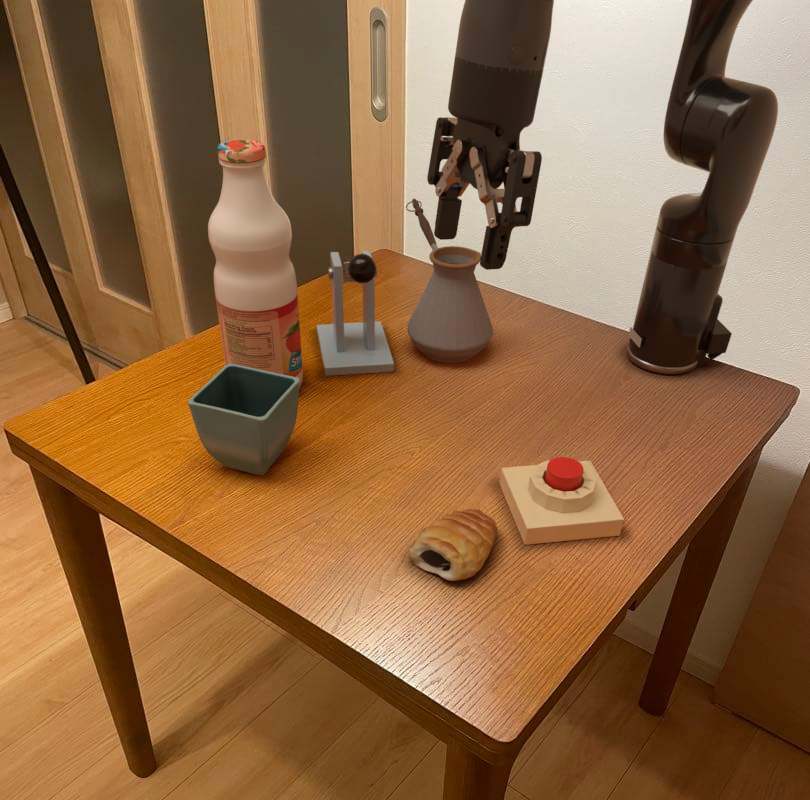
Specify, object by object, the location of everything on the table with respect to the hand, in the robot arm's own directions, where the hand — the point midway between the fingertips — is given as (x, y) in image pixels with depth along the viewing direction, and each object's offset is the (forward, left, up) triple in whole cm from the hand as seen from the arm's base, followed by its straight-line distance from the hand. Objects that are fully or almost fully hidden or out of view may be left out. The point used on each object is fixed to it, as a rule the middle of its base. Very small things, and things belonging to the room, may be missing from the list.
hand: (466, 252), depth 76 cm
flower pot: (+22, 0, -23) cm, 32 cm away
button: (-9, +13, -19) cm, 24 cm away
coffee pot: (-4, -27, -23) cm, 36 cm away
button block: (-9, +13, -23) cm, 27 cm away
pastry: (+4, +18, -23) cm, 29 cm away
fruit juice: (+20, -16, -23) cm, 35 cm away
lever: (+8, -18, -11) cm, 22 cm away
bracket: (+8, -23, -23) cm, 34 cm away
